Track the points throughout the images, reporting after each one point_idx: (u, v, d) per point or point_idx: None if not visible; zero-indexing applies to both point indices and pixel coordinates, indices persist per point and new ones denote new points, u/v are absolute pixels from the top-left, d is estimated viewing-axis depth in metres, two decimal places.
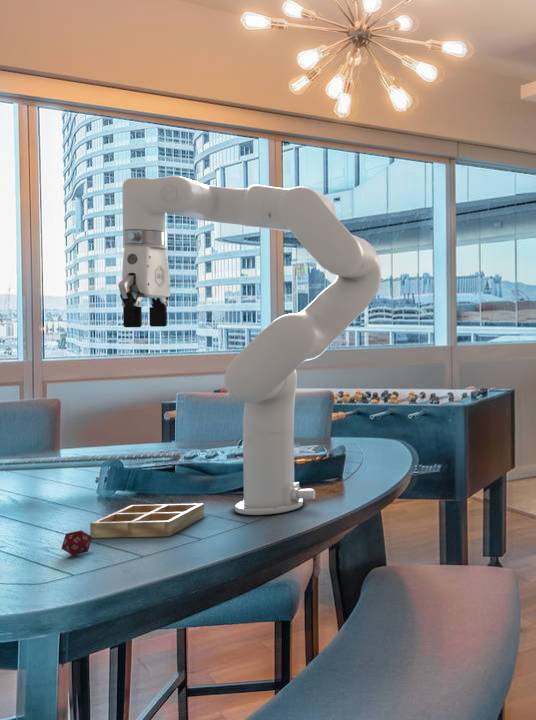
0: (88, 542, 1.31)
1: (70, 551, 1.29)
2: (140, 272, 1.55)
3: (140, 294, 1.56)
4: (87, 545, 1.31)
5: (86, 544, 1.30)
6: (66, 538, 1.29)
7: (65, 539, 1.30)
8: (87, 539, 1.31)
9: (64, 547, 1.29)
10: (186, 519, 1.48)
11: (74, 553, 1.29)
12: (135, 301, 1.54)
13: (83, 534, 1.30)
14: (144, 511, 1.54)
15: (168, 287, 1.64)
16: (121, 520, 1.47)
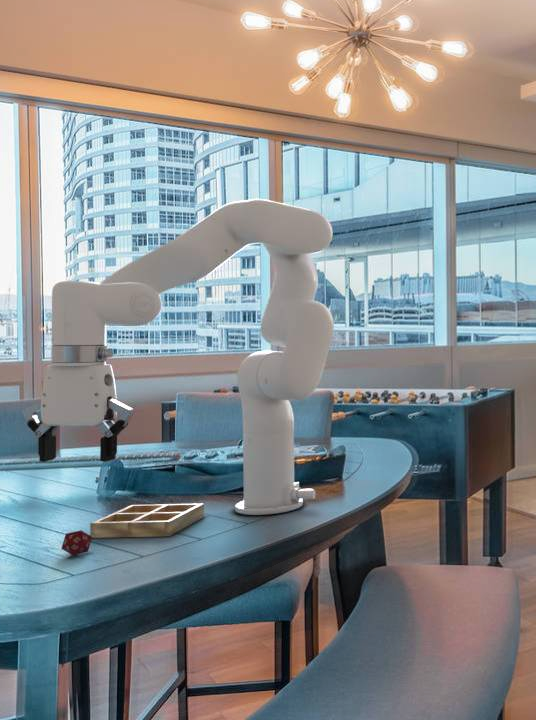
0: (88, 542, 1.31)
1: (70, 551, 1.29)
2: (115, 395, 1.34)
3: None
4: (87, 545, 1.31)
5: (86, 544, 1.30)
6: (66, 538, 1.29)
7: (65, 539, 1.30)
8: (87, 539, 1.31)
9: (64, 547, 1.29)
10: (186, 519, 1.48)
11: (74, 553, 1.29)
12: None
13: (83, 534, 1.30)
14: (144, 511, 1.54)
15: None
16: (121, 520, 1.47)
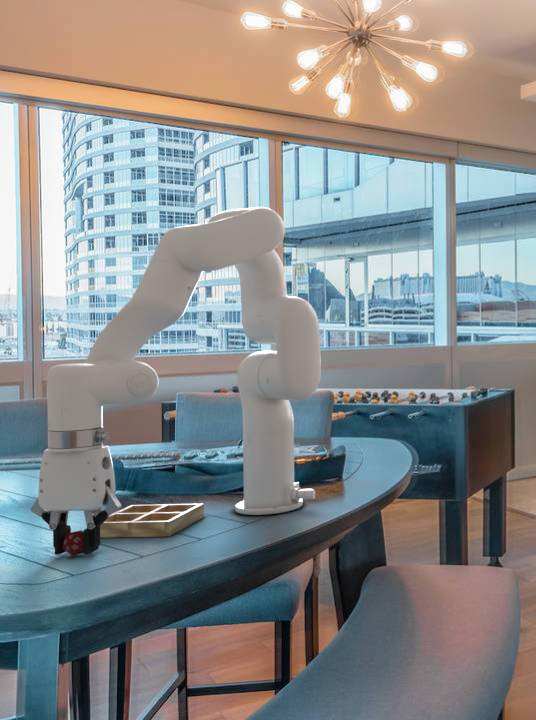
0: None
1: (70, 551, 1.29)
2: (113, 477, 1.32)
3: None
4: None
5: None
6: (66, 538, 1.29)
7: (65, 539, 1.30)
8: None
9: (64, 547, 1.29)
10: (186, 519, 1.48)
11: (74, 553, 1.29)
12: (102, 520, 1.32)
13: None
14: (144, 511, 1.54)
15: None
16: (121, 520, 1.47)
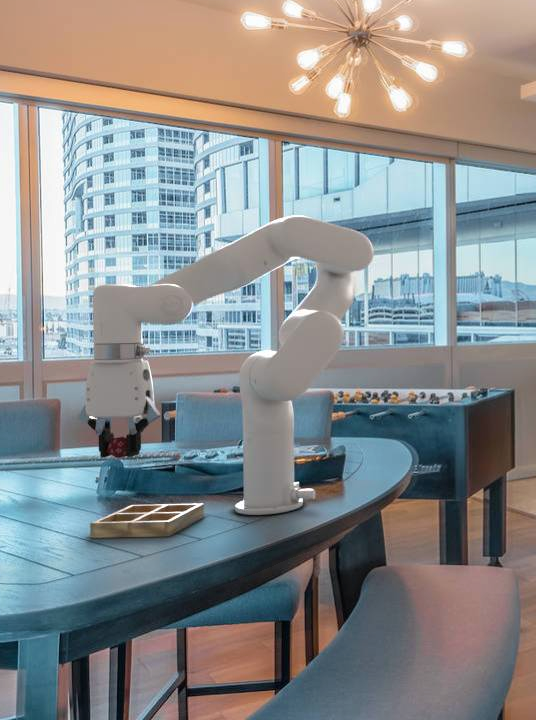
0: None
1: (114, 454, 1.42)
2: (152, 388, 1.45)
3: None
4: None
5: None
6: (111, 442, 1.42)
7: (109, 443, 1.43)
8: None
9: (109, 450, 1.42)
10: (186, 519, 1.48)
11: (118, 456, 1.42)
12: None
13: (125, 439, 1.44)
14: (144, 511, 1.54)
15: None
16: (121, 520, 1.47)
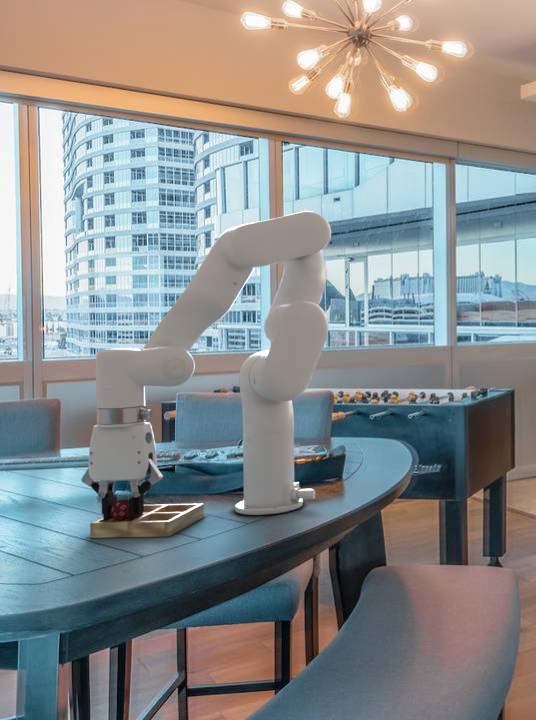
0: None
1: (117, 517, 1.43)
2: (154, 450, 1.46)
3: None
4: None
5: None
6: (114, 505, 1.43)
7: (112, 506, 1.43)
8: None
9: (112, 514, 1.43)
10: (186, 519, 1.48)
11: (121, 519, 1.43)
12: None
13: (128, 502, 1.44)
14: (144, 511, 1.54)
15: None
16: None
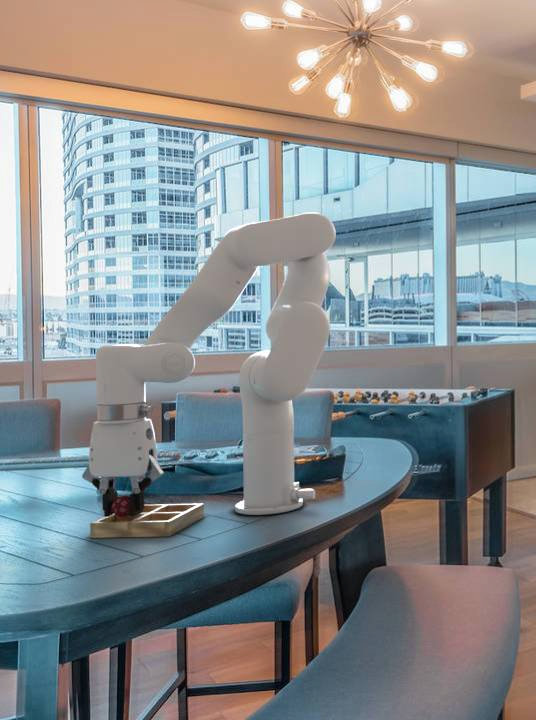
0: None
1: (118, 513, 1.43)
2: (155, 447, 1.46)
3: None
4: None
5: None
6: (114, 502, 1.43)
7: (113, 503, 1.44)
8: None
9: (112, 510, 1.43)
10: (186, 519, 1.48)
11: (122, 515, 1.43)
12: None
13: (129, 498, 1.44)
14: (144, 511, 1.54)
15: None
16: (121, 520, 1.47)
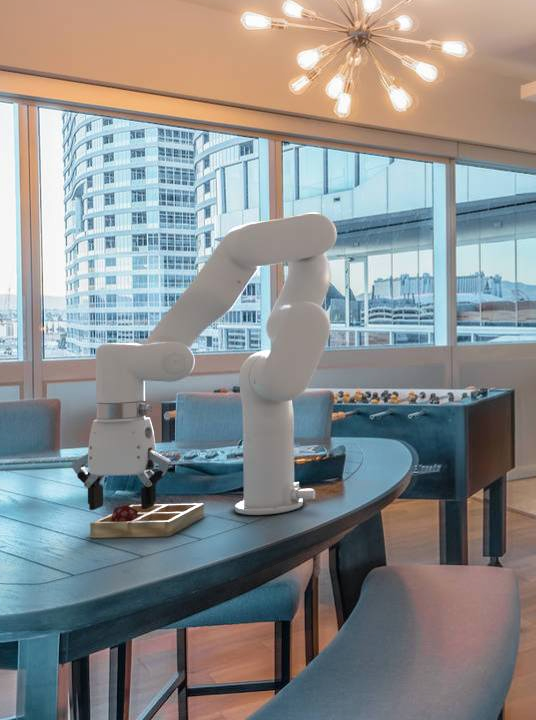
0: (134, 516, 1.45)
1: None
2: (154, 445, 1.46)
3: None
4: (133, 518, 1.45)
5: (132, 517, 1.44)
6: (115, 511, 1.43)
7: (114, 512, 1.44)
8: (133, 513, 1.45)
9: (113, 520, 1.43)
10: (186, 519, 1.48)
11: None
12: None
13: (130, 508, 1.44)
14: (144, 511, 1.54)
15: None
16: None
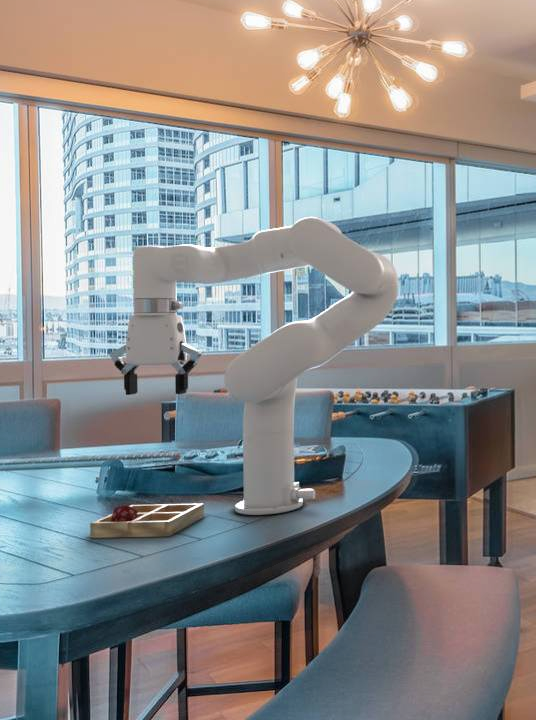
0: (134, 516, 1.45)
1: None
2: (185, 340, 1.62)
3: None
4: (133, 518, 1.45)
5: (132, 517, 1.44)
6: (115, 511, 1.43)
7: (114, 512, 1.44)
8: (133, 513, 1.45)
9: (113, 520, 1.43)
10: (186, 519, 1.48)
11: None
12: None
13: (130, 508, 1.44)
14: (144, 511, 1.54)
15: None
16: None
